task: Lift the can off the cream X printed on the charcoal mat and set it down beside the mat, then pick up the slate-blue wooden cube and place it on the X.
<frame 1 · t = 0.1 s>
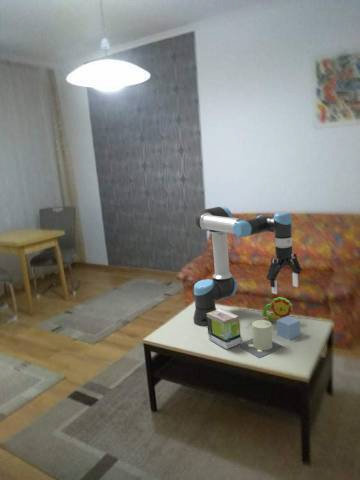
hand: (285, 289, 170), 28 cm above the table, tool pointing down, fingers open, 13 cm apart
can: (262, 346, 176), resting on letter mat
toy lion: (277, 323, 199), on the table
letter mat: (259, 346, 176), on the table
tea box: (224, 341, 184), on the table, touching letter mat
blue cube: (288, 334, 185), on the table
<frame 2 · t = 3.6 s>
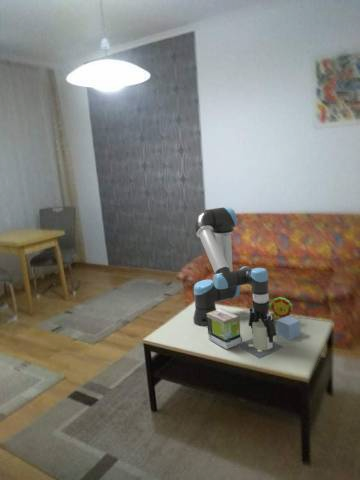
hand: (262, 344, 176), 1 cm above the table, tool pointing down, fingers closed on can, 9 cm apart
can: (262, 346, 176), resting on letter mat, touching gripper
everything else where it was.
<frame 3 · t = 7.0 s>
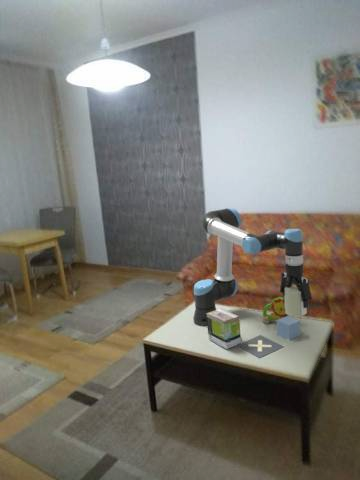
hand: (295, 310, 166), 20 cm above the table, tool pointing down, fingers closed on can, 9 cm apart
can: (295, 312, 166), point 19 cm above the table, touching gripper
everything else where it was.
when the fingers open (2 cm above the table, at t = 10.6 s): can drops 2 cm, on the table.
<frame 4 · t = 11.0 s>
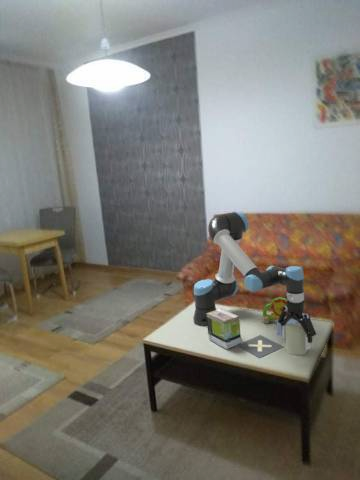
hand: (296, 343, 169), 4 cm above the table, tool pointing down, fingers open, 13 cm apart
can: (296, 350, 170), on the table
everything else where it was.
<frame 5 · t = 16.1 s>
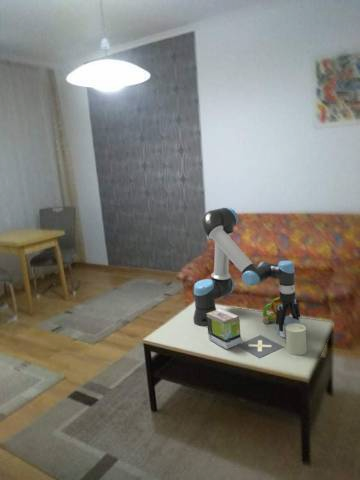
hand: (288, 333, 185), 1 cm above the table, tool pointing down, fingers closed on blue cube, 8 cm apart
blue cube: (288, 334, 185), on the table, touching gripper
everything else where it was.
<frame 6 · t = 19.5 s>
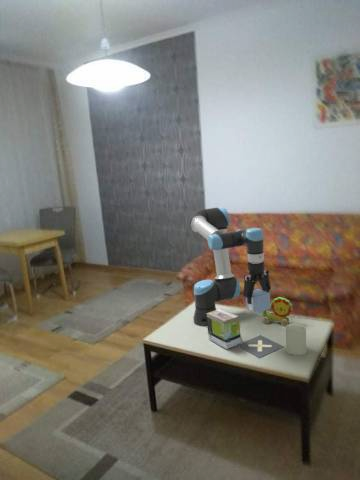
hand: (258, 307, 172), 20 cm above the table, tool pointing down, fingers closed on blue cube, 8 cm apart
blue cube: (258, 308, 172), point 20 cm above the table, touching gripper
everything else where it was.
when the fingers open (2 cm above the table, at t = 23.3 s): blue cube drops 1 cm, resting on letter mat.
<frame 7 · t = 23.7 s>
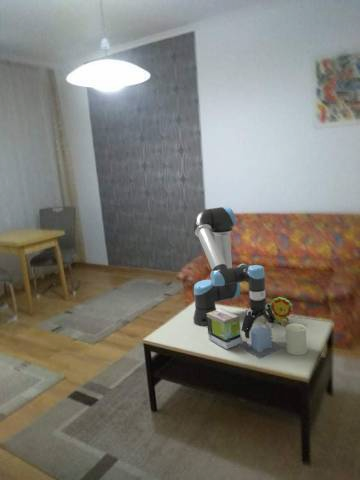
hand: (259, 339, 176), 4 cm above the table, tool pointing down, fingers open, 13 cm apart
blue cube: (259, 345, 176), resting on letter mat
everything else where it was.
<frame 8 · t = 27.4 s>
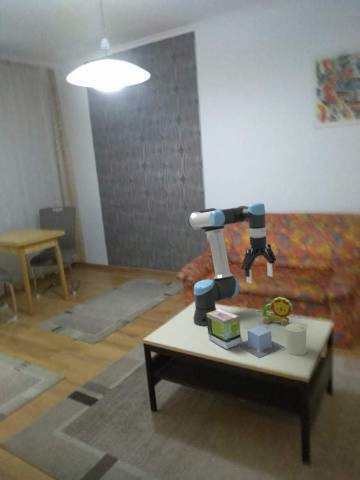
hand: (259, 279, 173), 33 cm above the table, tool pointing down, fingers open, 13 cm apart
nothing on the table moved.
at the end: blue cube inside the target area on the letter mat (0.0 cm from its centre), point 0.2 cm above the letter mat's base; blue cube tilted 0°; can touching table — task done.
